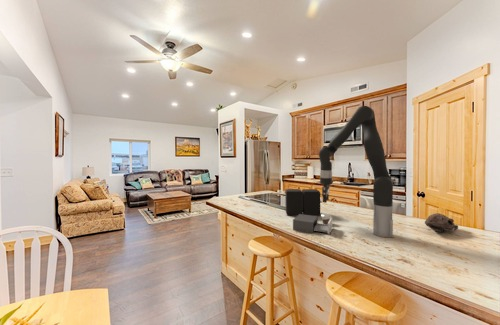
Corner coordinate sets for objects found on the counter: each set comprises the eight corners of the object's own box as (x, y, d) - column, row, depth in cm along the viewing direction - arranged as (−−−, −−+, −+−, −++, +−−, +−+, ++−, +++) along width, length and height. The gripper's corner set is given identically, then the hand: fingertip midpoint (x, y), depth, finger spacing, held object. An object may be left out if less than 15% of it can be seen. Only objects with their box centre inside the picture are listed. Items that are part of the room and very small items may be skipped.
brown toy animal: (444, 239, 116) (445, 221, 115) (417, 232, 126) (418, 215, 126) (461, 230, 129) (461, 214, 128) (435, 225, 139) (435, 209, 139)
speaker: (317, 212, 172) (317, 189, 172) (320, 216, 162) (320, 191, 161) (285, 211, 174) (285, 189, 174) (286, 215, 164) (286, 191, 163)
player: (317, 226, 140) (317, 216, 139) (312, 233, 127) (312, 222, 127) (299, 223, 145) (299, 213, 145) (293, 229, 133) (293, 219, 133)
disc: (331, 217, 145) (331, 214, 145) (329, 220, 140) (330, 216, 140) (322, 216, 148) (322, 213, 148) (320, 218, 143) (320, 215, 143)
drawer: (332, 227, 135) (332, 217, 135) (329, 234, 123) (329, 223, 123) (317, 225, 139) (317, 215, 139) (313, 231, 128) (313, 221, 127)
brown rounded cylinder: (329, 223, 145) (329, 217, 145) (328, 224, 142) (328, 219, 142) (323, 222, 147) (323, 217, 147) (322, 223, 144) (322, 218, 143)
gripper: (330, 178, 135) (330, 204, 136) (333, 176, 148) (333, 199, 148) (318, 177, 139) (317, 202, 139) (322, 175, 151) (321, 198, 152)
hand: (325, 201), depth 144 cm, fingers open, 8 cm apart
